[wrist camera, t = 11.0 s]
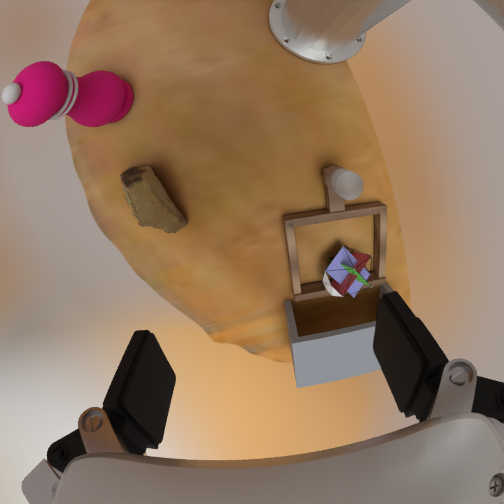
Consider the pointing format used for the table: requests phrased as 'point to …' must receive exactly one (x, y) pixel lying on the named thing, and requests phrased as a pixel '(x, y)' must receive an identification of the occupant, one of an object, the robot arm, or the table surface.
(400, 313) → the robot arm
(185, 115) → the table surface
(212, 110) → the table surface
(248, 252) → the table surface
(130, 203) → the rock
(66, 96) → the pepper mill
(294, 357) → the open box
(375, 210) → the brown open frame
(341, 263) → the geometric puzzle
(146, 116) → the table surface
